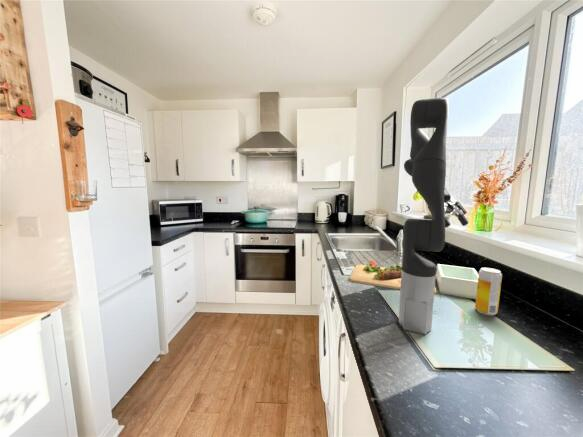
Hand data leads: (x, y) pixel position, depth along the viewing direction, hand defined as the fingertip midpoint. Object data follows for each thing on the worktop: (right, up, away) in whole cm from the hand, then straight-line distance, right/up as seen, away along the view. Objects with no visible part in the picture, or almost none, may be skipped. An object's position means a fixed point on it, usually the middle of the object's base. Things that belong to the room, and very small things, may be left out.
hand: (457, 225), depth 93 cm
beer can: (+4, -30, -9) cm, 31 cm away
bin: (+7, -27, +11) cm, 30 cm away
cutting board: (-16, -26, +22) cm, 38 cm away
